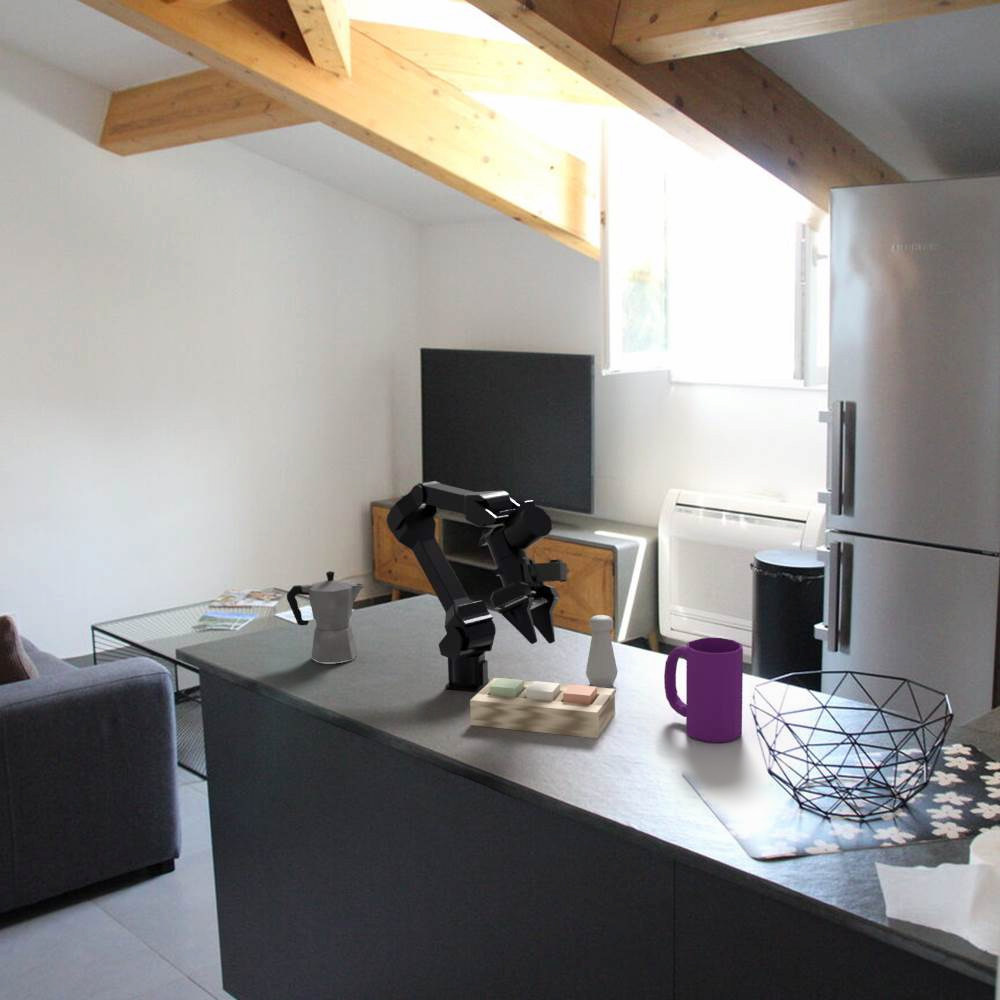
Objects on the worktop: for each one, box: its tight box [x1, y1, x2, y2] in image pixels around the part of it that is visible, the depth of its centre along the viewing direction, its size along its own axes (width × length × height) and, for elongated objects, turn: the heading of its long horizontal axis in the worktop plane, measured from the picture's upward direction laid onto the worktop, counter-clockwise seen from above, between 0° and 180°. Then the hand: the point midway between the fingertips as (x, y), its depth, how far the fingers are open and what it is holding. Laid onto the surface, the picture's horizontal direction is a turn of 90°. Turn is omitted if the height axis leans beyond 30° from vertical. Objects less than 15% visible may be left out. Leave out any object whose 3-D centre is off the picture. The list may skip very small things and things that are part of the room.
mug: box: [663, 637, 744, 744], centre depth 190 cm, size 9×16×15 cm, turn 37°
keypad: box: [469, 677, 616, 739], centre depth 197 cm, size 22×12×4 cm, turn 70°
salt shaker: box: [585, 614, 618, 688], centre depth 213 cm, size 6×6×13 cm
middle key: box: [526, 680, 561, 701], centre depth 196 cm, size 5×5×3 cm
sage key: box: [490, 677, 525, 698], centre depth 199 cm, size 5×5×3 cm
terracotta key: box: [563, 684, 597, 705], centre depth 194 cm, size 5×5×3 cm
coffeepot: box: [286, 570, 365, 662], centre depth 232 cm, size 15×9×18 cm, turn 102°
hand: (543, 642), depth 197 cm, fingers open, 9 cm apart
